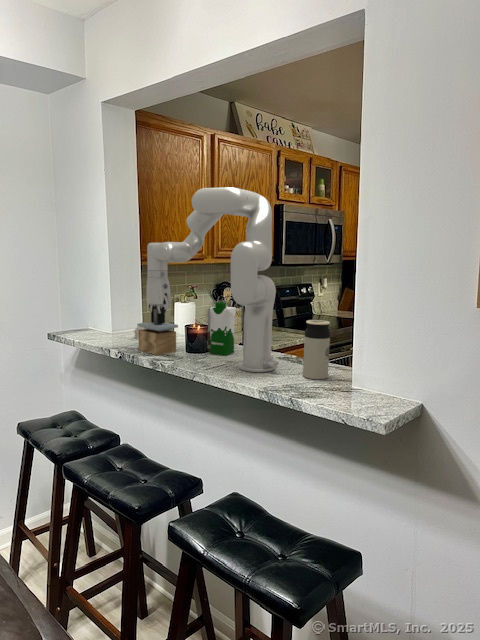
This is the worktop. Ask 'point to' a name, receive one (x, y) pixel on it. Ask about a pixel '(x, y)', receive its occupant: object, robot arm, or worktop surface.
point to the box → (157, 341)
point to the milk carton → (222, 329)
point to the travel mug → (316, 350)
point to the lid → (157, 326)
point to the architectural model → (138, 331)
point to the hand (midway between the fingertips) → (158, 322)
